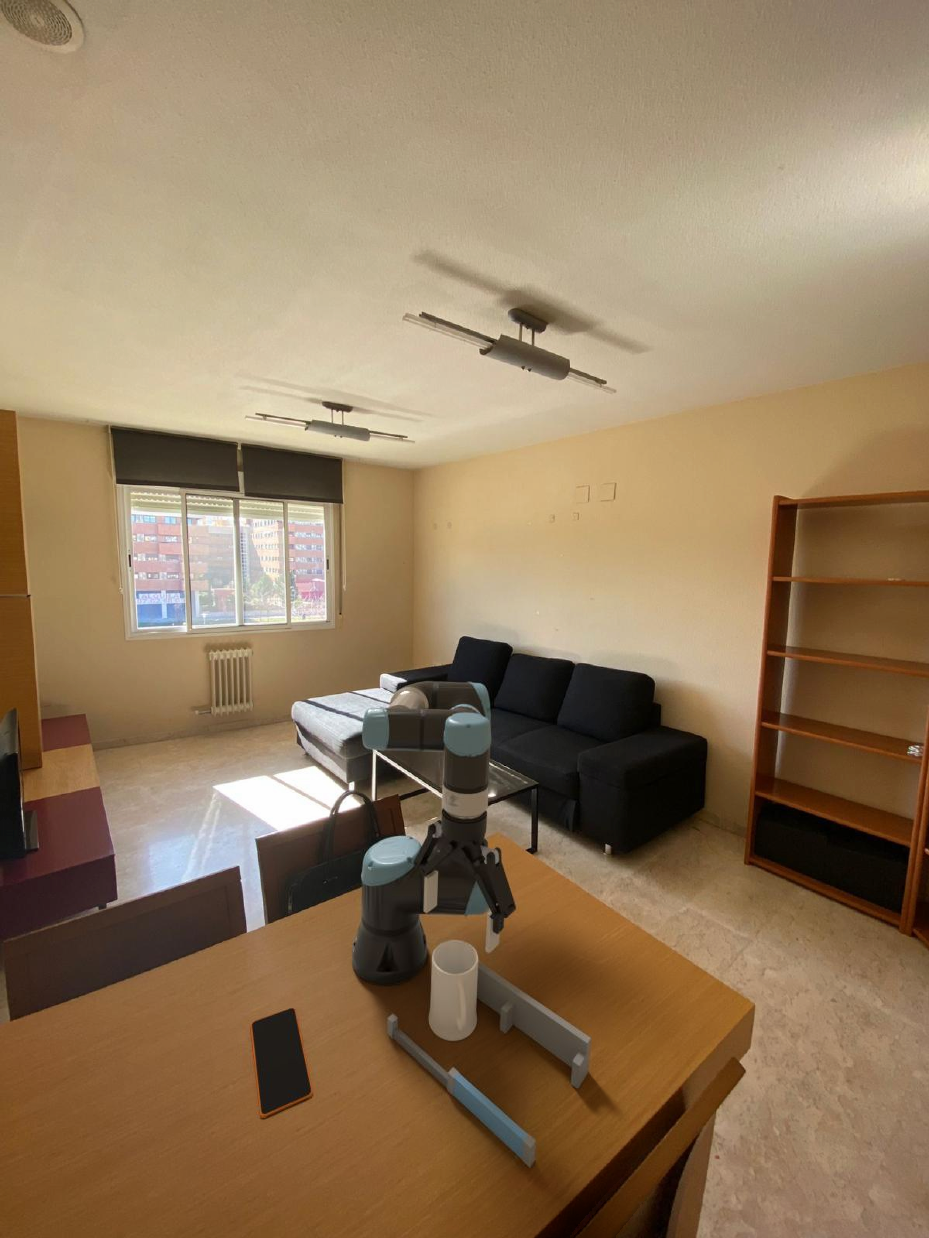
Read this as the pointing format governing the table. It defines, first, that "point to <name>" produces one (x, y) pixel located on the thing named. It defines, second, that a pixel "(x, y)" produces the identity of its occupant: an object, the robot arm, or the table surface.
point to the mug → (453, 990)
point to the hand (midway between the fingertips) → (459, 927)
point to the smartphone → (279, 1062)
